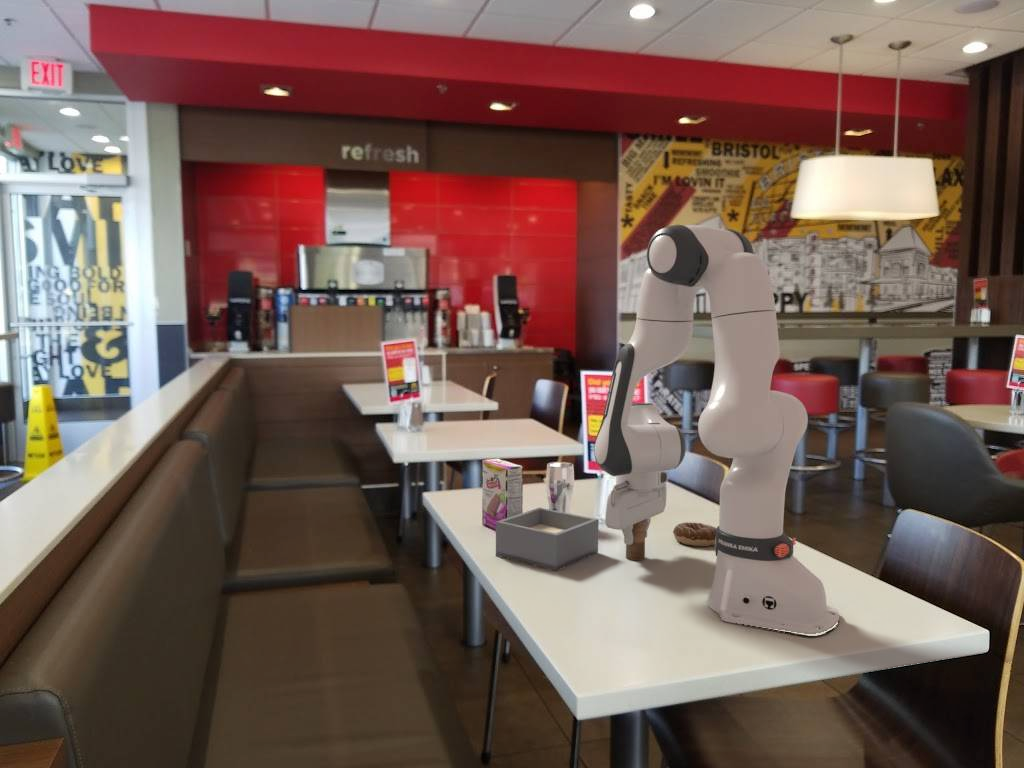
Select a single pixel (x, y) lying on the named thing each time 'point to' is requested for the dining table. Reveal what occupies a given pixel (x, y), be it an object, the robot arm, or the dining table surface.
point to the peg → (637, 542)
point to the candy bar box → (501, 491)
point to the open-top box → (547, 538)
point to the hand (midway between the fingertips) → (635, 540)
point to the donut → (695, 534)
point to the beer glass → (560, 486)
